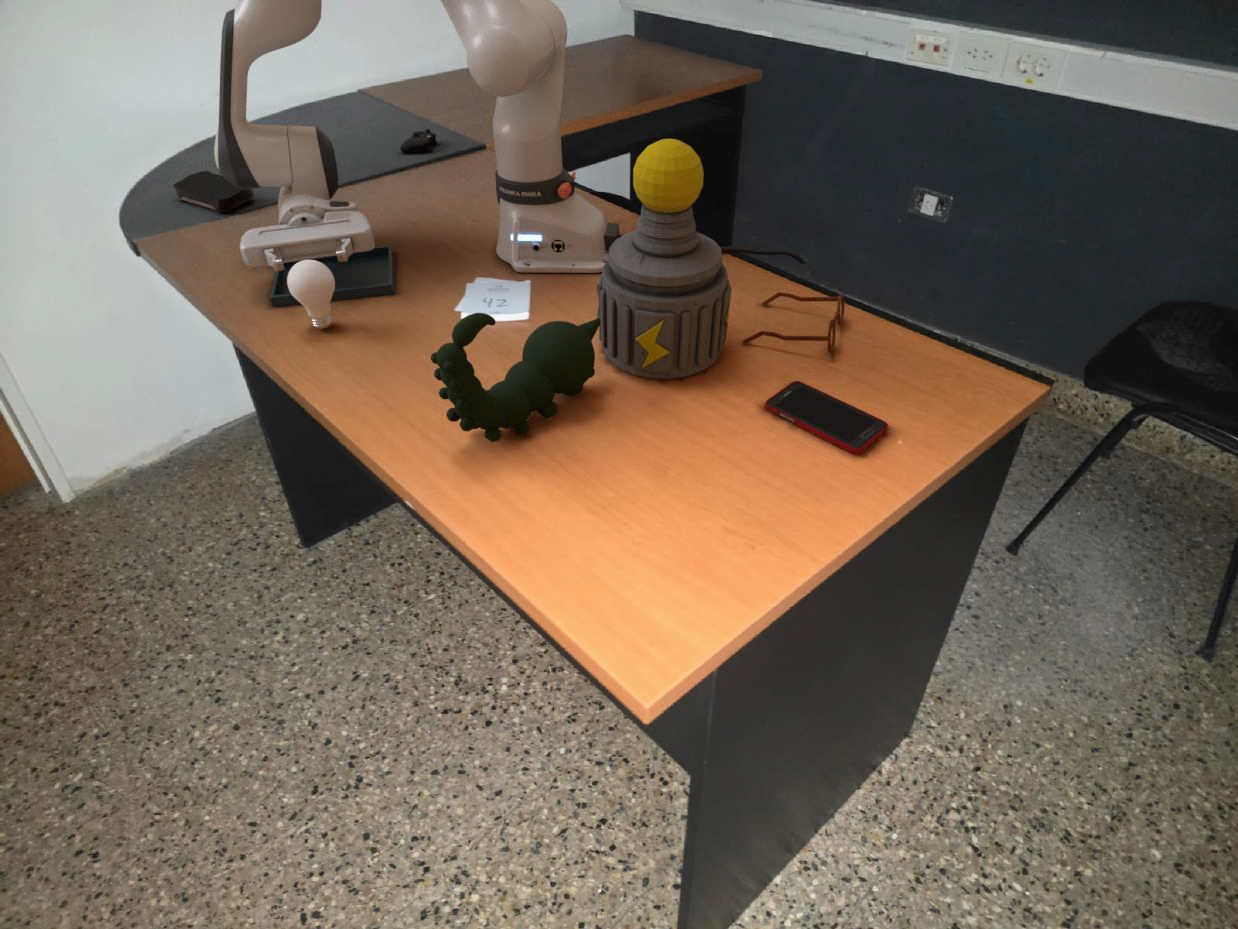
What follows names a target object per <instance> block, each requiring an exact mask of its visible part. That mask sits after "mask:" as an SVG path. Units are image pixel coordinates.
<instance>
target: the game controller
mask: <svg viewBox="0 0 1238 929" xmlns="http://www.w3.org/2000/svg"><path fill="white" fill-rule="evenodd" d="M437 144H438V142H437V135H436V134H435V132H432V131H431V129H430V128H426V129H425V130H417V131H414V132H413V133H411V136H410V137H409V138H407V139H406V140H405V141H403V143H401V145H400V146H399V148H400V152H401V153H403V154H410V153H414V152H417V151H421V152H424V153H427V152H430V151H431V149H430V145H437Z"/></svg>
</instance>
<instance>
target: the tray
mask: <svg viewBox="0 0 1238 929" xmlns="http://www.w3.org/2000/svg"><path fill="white" fill-rule="evenodd" d="M394 255H395V254H394V248H393V246H392V245H391V244H390V245H381V246H375V248H374V249H372V250H370V251H365V252H358V253H353V254H352V255H350V256H349V257H347V258H348V261H346V262H338V258H337V255H336V256H329V257H322V258H315V259H308V260H316V261H318V262H321V263H323V264H324V265H326V266H327V267H328V268H329V269H330V271H331V272H332V274H333V277H334V280H335V289H334V292H333V295H332V298H331V301H330V302H333V301H342V300H351V299H360V298H370V297H379V296H387V295H388V296H389V295H395V256H394ZM301 261H303V260H301ZM298 262H300V261H294V262H287V263H284V265H285V270H282V271H276V272H275V271H274V276H273V280H272V281H273V282H272V286H271V289H270V294H269V300H270V303H271V306H272V308H277V307H286V306H295V305H302V304H301V303H300V302H299V301H298V300H296V299H295V298H294V297H293V296H292V294H291V293H290V291H289V288H288V285H287V276H288V273H289V271H290V269H291V268H292V267H293V266H294V265H295V264H296V263H298Z"/></svg>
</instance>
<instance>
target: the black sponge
mask: <svg viewBox="0 0 1238 929" xmlns="http://www.w3.org/2000/svg"><path fill="white" fill-rule="evenodd" d="M173 188H174V189H175V192H176V197H177V200H179V201H184V202H186V203H190V204H194V205H197V206H201V207H204V208H207V209H210V210H213V211H215V212H218V213H219V212H220V213H227V212H229V211H231V210H233V209H234V208H236V207H238V206H240V205H241V204H244V203H246V202H248V201H250V200H251V199H252V198H253V196H254V192H253V188H249V189H239V188H238V187H236V186H234V185H233V184H231V183H230V182H229V181H227V180H226V179H225V178H224V177H223V176H222V175H220V174H216V173H213V172H211V171H208V170H202V171H199V172H194V173H192V174H189V175H187V176H184V177H183V178H182V179H181V180H179V181H177V182H175V183H174V184H173Z"/></svg>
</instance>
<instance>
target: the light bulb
mask: <svg viewBox="0 0 1238 929" xmlns="http://www.w3.org/2000/svg"><path fill="white" fill-rule="evenodd" d="M287 285H288V288H289V291H290V293H291V294H292V296H293V297H294V298H295V299H296V300H298V301H299V302H300V303H301V304H300V305H302V306H303V307H304V308H305V310H306V313H307V315H308V316H309V317H311V318H310V320H311V324H312V326H313V327H314V328H316V329H319V330H323V329H324V330H325V329H328V328H329V327H330V326H331V325H332V323H333V318H332V314H331V311H332V307H331V302H332V301H331V298H332V295H333V292H334V289H335V280H334V277H333V274H332V272H331V271H330V269H329V268H328V267H327V266H326V265H324V264H323V263H321V262H318V261H316V260H303V261H300V262H298V263H296V264H295V265H294V266H293V267H292V268H291V269H290V271H289V273H288V276H287Z"/></svg>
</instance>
